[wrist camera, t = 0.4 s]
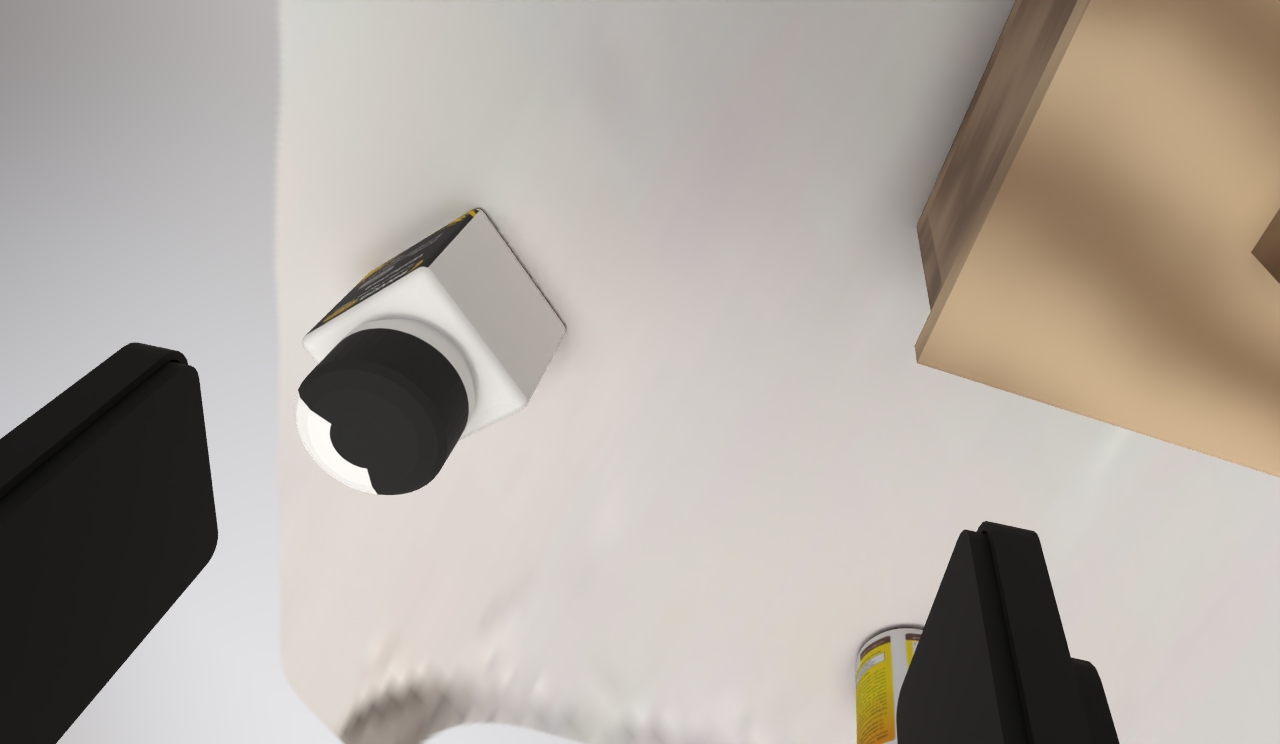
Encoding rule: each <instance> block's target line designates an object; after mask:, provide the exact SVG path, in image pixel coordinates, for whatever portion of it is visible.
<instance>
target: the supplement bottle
mask: <svg viewBox="0 0 1280 744" xmlns="http://www.w3.org/2000/svg"><path fill="white" fill-rule="evenodd" d="M922 632H923V630H920V629H913V628H900V629H894V630H889V631H886V632H883V633H881V634H879V635H877V636H875V637H873V638H872V639H870V640H869V641H868V642H867V643H866V644H865V645H864V646H863V647H862V649H861V651H860V652H859V655H858V657H857V661H856V712H857V744H898V743H897V725H896V713H897V703H898V698H899V693H900V690H901V687H902V684H903V681H904V679H905V676H906V673H907V671H908V668H909V666H910V663H911V660H912V658H913V655H914V653H915V650H916V647H917V645H918V642H919V639H920V637H921V634H922Z"/></svg>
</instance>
